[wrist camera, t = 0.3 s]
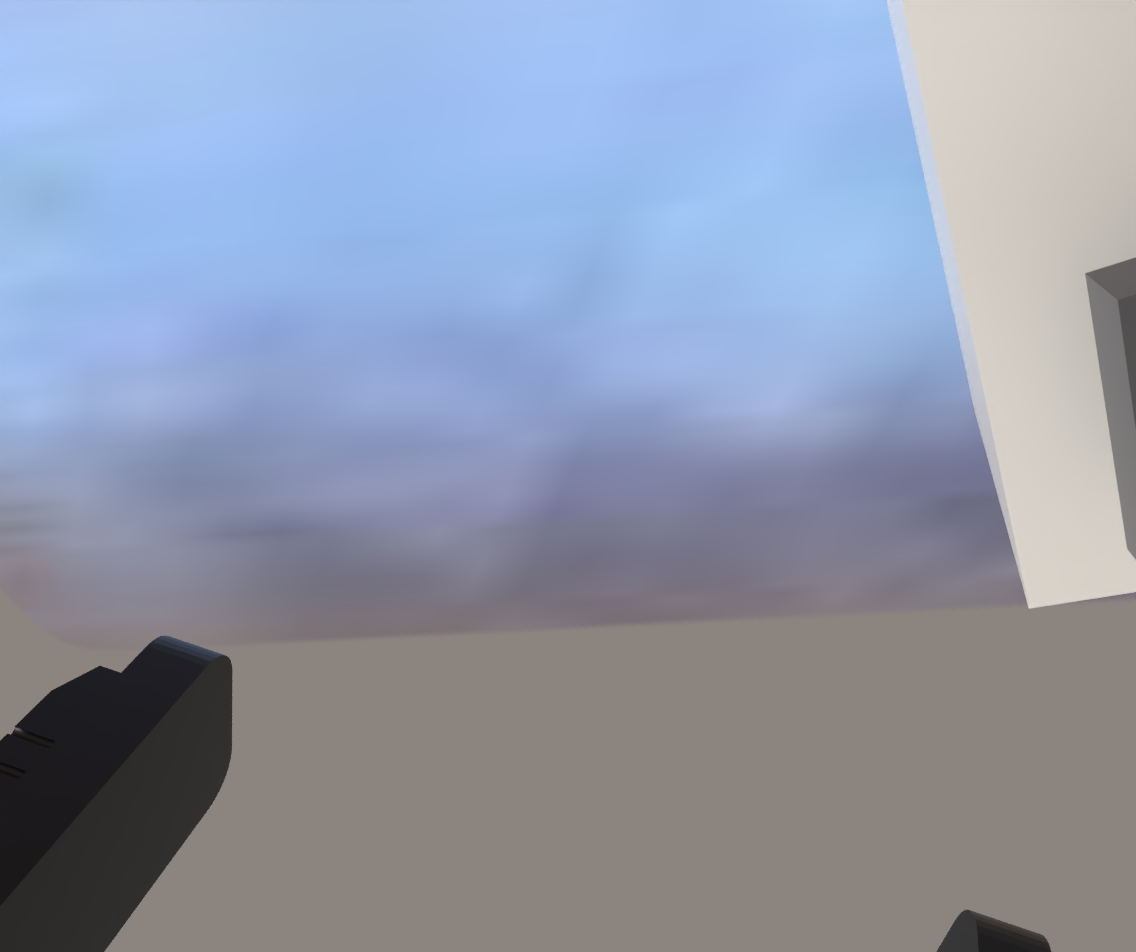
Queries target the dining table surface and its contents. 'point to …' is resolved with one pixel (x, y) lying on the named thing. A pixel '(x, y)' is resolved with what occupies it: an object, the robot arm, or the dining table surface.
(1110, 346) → the rocker outer
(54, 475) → the dining table surface
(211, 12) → the dining table surface
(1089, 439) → the switch box
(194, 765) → the robot arm
